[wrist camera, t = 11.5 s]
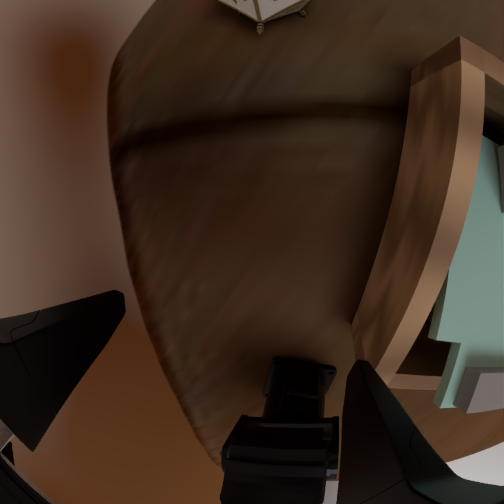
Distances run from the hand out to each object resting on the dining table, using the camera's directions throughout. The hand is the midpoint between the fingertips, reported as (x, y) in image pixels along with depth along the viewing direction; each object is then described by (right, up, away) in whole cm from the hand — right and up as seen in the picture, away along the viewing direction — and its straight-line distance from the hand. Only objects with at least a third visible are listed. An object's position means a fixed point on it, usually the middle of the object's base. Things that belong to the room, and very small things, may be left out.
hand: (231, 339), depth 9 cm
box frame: (+20, +4, +7) cm, 21 cm away
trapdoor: (+18, +2, +3) cm, 19 cm away
